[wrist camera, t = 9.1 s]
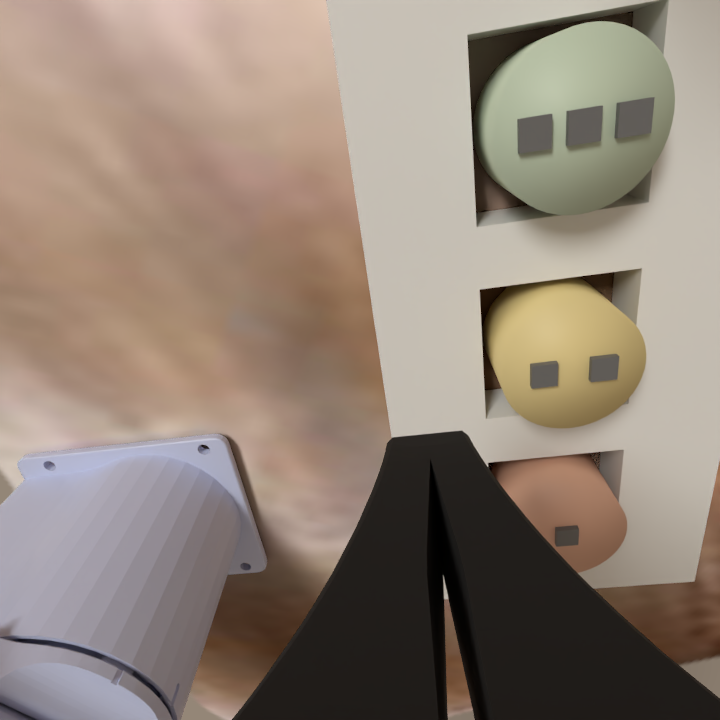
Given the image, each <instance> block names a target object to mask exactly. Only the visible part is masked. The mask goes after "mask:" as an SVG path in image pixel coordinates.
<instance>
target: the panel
mask: <svg viewBox="0 0 720 720" xmlns="http://www.w3.org/2000/svg"><path fill="white" fill-rule="evenodd" d="M326 3H327V10H328V16H329V23H330V30H331V36H332V43H333V49H334V56H335V63H336V69H337V76H338V83H339V89H340V96H341V103H342V109H343V116H344V123H345V129H346V136H347V143H348V149H349V156H350V163H351V169H352V176H353V183H354V189H355V196H356V203H357V209H358V216H359V223H360V229H361V236H362V242H363V249H364V256H365V262H366V269H367V276H368V282H369V289H370V296H371V302H372V309H373V316H374V322H375V329H376V336H377V342H378V349H379V356H380V362H381V369H382V376H383V382H384V389H385V396H386V402H387V409H388V416H389V422H390V429H391V436H392V438H393V437H401V436H411V435H421V434H431V433H441V432H451V431H461V430H462V431H463V432H465V433H466V434H467V435H469V437H470V439H471V441H472V443H473V445H474V447H475V448H476V450H477V452H478V453H479V455H480V456H481V458H482V459H483V461H484V462H485V464H486V465H487V467H488V463H491V462H501V461H511V460H522V459H532V458H542V457H552V456H563V455H573V454H583V453H594V452H601V453H600V466H599V471H600V473H601V474H602V476H603V478H604V479H605V481H606V483H607V484H608V486H609V488H610V489H611V491H612V493H613V494H614V496H615V498H616V499H617V501H618V503H619V504H620V506H621V508H622V509H623V511H624V513H625V516H626V519H627V532H626V536H625V539H624V541H623V543H622V544H621V546H620V547H619V549H618V550H617V551H616V552H615V553H614V554H613V555H612V556H611V557H610V558H609V559H607V560H606V561H604V562H603V563H601V564H600V565H598V566H596V567H594V568H591V569H589V570H586V571H583V572H579V573H578V574H579V575H580V576H581V577H582V578H583V579H584V580H585V581H586V582H587V583H588V584H589V585H590V586H591V587H592V588H593V589H597V588H611V587H625V586H639V585H653V584H667V583H681V582H694V581H695V577H696V572H697V567H698V562H699V557H700V552H701V547H702V543H703V538H704V533H705V528H706V523H707V518H708V513H709V508H710V504H711V499H712V494H713V489H714V484H715V479H716V474H717V470H718V465H719V460H720V0H326ZM632 11H633V24H632V28H634V29H636V30H638V31H639V32H641V33H643V34H644V35H646V36H647V37H648V38H649V39H650V40H651V41H653V42H654V44H655V45H656V46H657V47H658V48H659V50H660V51H661V52H662V54H663V56H664V58H665V59H666V61H667V63H668V66H669V68H670V71H671V74H672V78H673V83H674V91H675V109H674V116H673V122H672V126H671V130H670V133H669V136H668V139H667V141H666V144H665V146H664V148H663V150H662V152H661V154H660V156H659V158H658V159H657V161H656V162H655V164H654V165H653V167H652V168H651V170H650V171H649V172H648V173H647V175H646V176H645V177H644V178H643V179H642V180H641V181H640V182H639V183H638V184H637V185H636V186H635V187H634V188H633V189H632V190H631V191H629V192H628V193H627V194H625V195H624V196H623V197H621V198H620V199H618V200H617V201H615V202H613V203H612V204H609V205H607V206H605V207H603V208H601V209H598V210H595V211H592V212H589V213H584V214H579V215H556V214H551V213H546V212H543V211H540V210H537V209H535V208H534V207H532V206H530V205H527V206H520V207H514V208H507V209H500V210H493V211H486V212H479V213H476V203H475V183H474V162H473V142H472V121H471V100H470V80H469V59H468V41H470V40H476V39H482V38H487V37H493V36H498V35H504V34H509V33H515V32H521V31H526V30H532V29H537V28H543V27H548V26H554V25H560V24H565V23H571V22H576V21H582V20H587V19H593V18H599V17H604V16H610V15H615V14H621V13H626V12H632ZM610 272H614V278H613V292H612V304H613V305H614V306H615V307H617V308H618V309H619V310H620V311H621V312H622V313H624V314H625V315H626V316H627V317H628V318H629V319H630V320H631V321H632V322H633V323H634V324H635V325H636V326H637V328H638V329H639V330H640V332H641V334H642V336H643V339H644V342H645V346H646V365H645V370H644V373H643V376H642V378H641V381H640V383H639V385H638V386H637V388H636V389H635V391H634V392H633V394H632V395H631V396H630V397H629V399H628V400H627V401H626V402H625V403H624V404H623V405H622V406H620V407H619V408H618V409H617V410H615V411H614V412H613V413H611V414H609V415H608V416H606V417H604V418H602V419H600V420H598V421H596V422H593V423H590V424H588V425H584V426H580V427H574V428H550V427H544V426H541V425H537V424H535V423H532V422H530V421H528V420H526V419H525V418H523V417H522V416H520V415H519V414H518V413H517V412H516V411H515V410H514V409H513V408H512V407H511V405H510V404H509V402H508V401H507V399H506V397H505V395H504V392H503V390H502V389H494V390H485V389H484V369H483V348H482V327H481V307H480V289H488V288H495V287H503V286H511V285H518V284H526V283H534V282H541V281H549V280H556V279H564V278H572V277H579V276H587V275H595V274H602V273H610ZM443 583H444V599H449V598H448V594H447V589H446V585H445V580H444V576H443Z"/></svg>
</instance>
